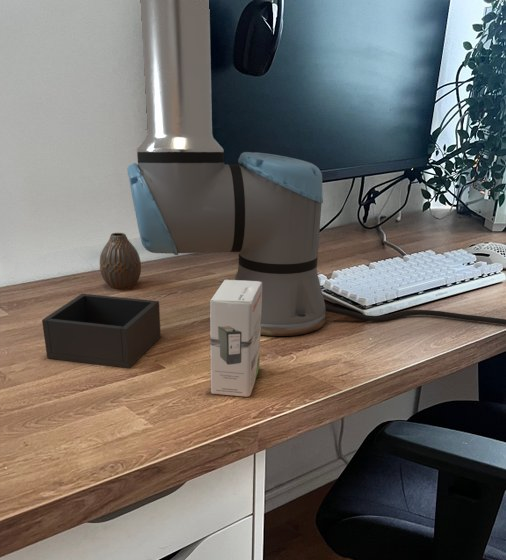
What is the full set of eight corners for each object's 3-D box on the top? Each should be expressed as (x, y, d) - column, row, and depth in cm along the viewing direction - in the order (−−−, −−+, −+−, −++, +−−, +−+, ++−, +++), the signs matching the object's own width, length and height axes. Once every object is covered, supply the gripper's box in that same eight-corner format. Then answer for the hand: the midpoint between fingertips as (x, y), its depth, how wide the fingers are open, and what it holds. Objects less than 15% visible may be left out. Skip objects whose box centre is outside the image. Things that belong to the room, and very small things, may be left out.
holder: (160, 337, 98) (159, 301, 95) (129, 368, 88) (126, 329, 86) (85, 328, 100) (81, 293, 98) (46, 358, 91) (41, 319, 88)
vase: (144, 290, 117) (141, 238, 112) (102, 293, 115) (98, 239, 111) (139, 279, 123) (136, 228, 118) (100, 281, 121) (95, 230, 117)
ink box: (223, 366, 89) (223, 277, 84) (260, 369, 89) (263, 279, 83) (209, 394, 82) (208, 298, 76) (250, 398, 82) (252, 301, 76)
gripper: (218, 99, 127) (202, 202, 122) (88, 92, 129) (67, 193, 125) (213, 68, 119) (196, 176, 115) (74, 61, 122) (52, 167, 117)
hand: (129, 185), depth 120 cm, fingers open, 13 cm apart
